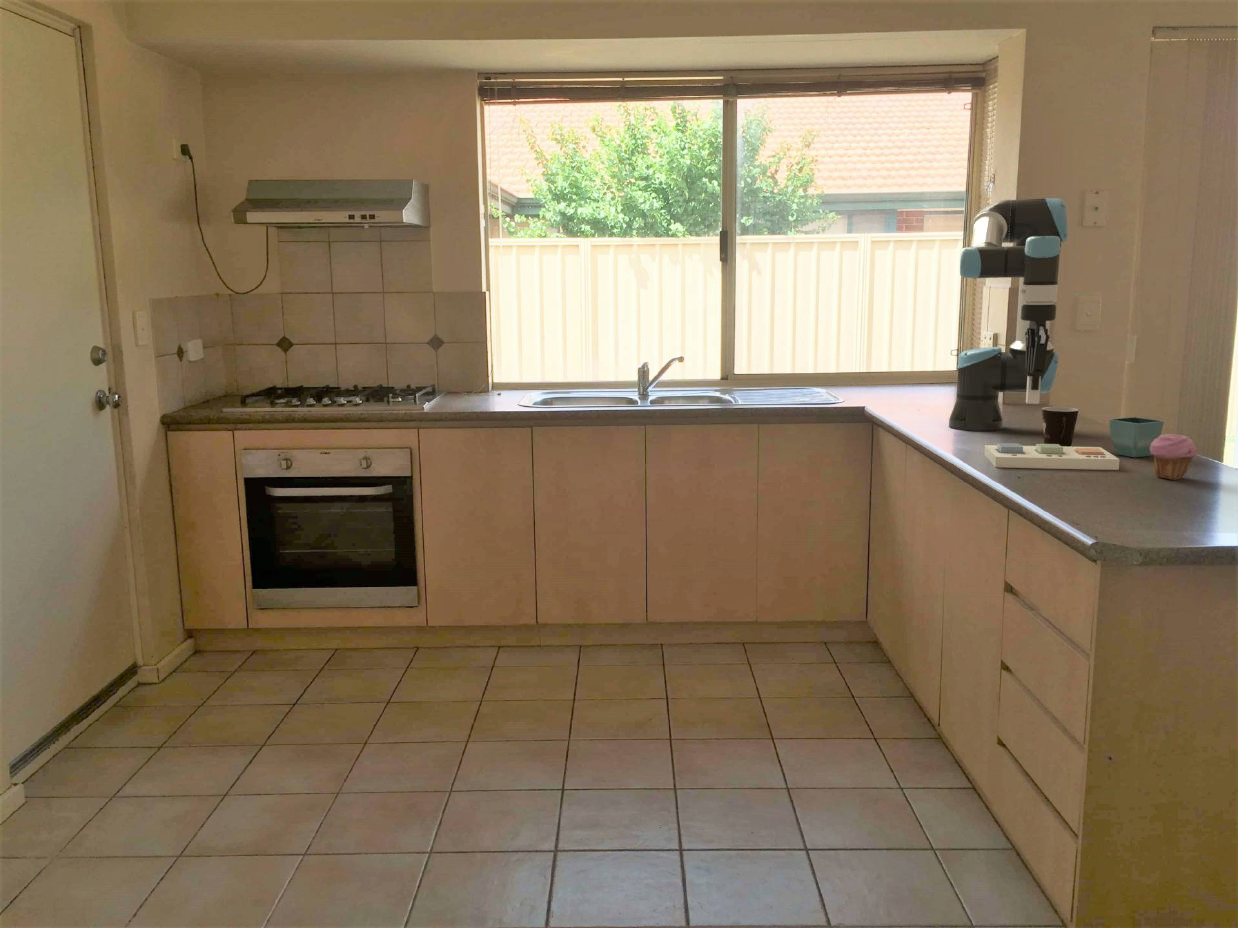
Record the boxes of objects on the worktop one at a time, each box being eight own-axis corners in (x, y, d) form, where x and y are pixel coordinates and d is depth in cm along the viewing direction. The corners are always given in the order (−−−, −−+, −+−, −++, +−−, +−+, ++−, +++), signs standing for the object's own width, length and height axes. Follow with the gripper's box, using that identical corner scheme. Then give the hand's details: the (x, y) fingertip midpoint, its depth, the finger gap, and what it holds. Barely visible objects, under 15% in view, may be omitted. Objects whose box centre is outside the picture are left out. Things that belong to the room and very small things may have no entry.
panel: (984, 454, 247) (984, 444, 247) (1099, 457, 242) (1100, 446, 242) (995, 467, 232) (995, 456, 231) (1118, 469, 227) (1119, 458, 226)
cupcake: (1139, 476, 220) (1143, 432, 218) (1166, 472, 223) (1170, 429, 221) (1175, 483, 212) (1179, 438, 210) (1202, 479, 215) (1207, 434, 213)
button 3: (1074, 458, 238) (1075, 448, 238) (1097, 459, 237) (1097, 448, 237) (1080, 462, 233) (1081, 451, 233) (1102, 463, 232) (1103, 452, 232)
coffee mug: (1045, 443, 262) (1047, 406, 260) (1079, 446, 257) (1082, 408, 255) (1031, 449, 253) (1034, 411, 251) (1066, 453, 248) (1069, 413, 246)
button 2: (1035, 454, 240) (1036, 443, 239) (1057, 455, 239) (1058, 444, 238) (1040, 458, 235) (1040, 447, 234) (1062, 458, 234) (1063, 447, 233)
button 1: (996, 453, 241) (997, 443, 241) (1018, 454, 240) (1019, 443, 240) (1000, 457, 237) (1001, 446, 236) (1022, 458, 236) (1023, 447, 235)
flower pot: (1105, 454, 246) (1108, 418, 244) (1131, 451, 249) (1134, 416, 247) (1134, 460, 238) (1137, 423, 236) (1161, 457, 241) (1165, 421, 239)
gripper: (1016, 302, 238) (1010, 399, 242) (1028, 304, 225) (1022, 406, 230) (1048, 302, 236) (1042, 399, 241) (1063, 304, 224) (1056, 407, 228)
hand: (1032, 403), depth 235 cm, fingers closed
